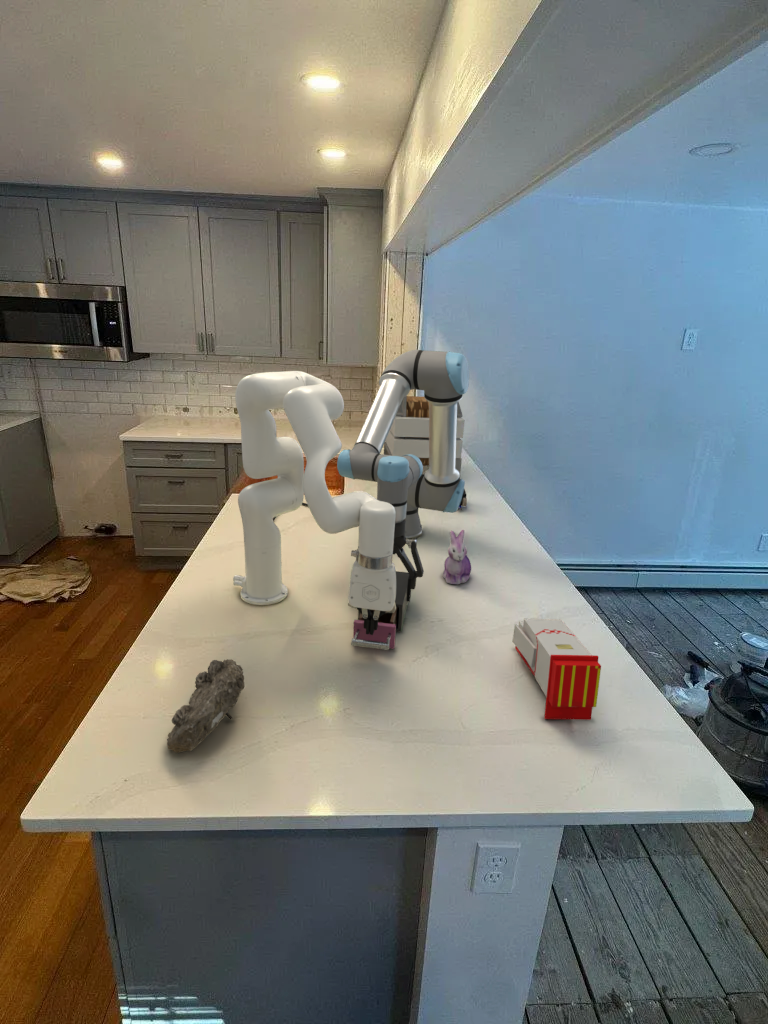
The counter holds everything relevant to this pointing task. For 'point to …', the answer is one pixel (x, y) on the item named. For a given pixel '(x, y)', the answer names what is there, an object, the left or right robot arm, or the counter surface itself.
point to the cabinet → (400, 597)
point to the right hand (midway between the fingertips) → (386, 596)
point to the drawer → (377, 632)
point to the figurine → (457, 560)
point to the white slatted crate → (417, 431)
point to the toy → (559, 667)
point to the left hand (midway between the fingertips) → (370, 631)
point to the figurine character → (463, 500)
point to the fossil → (206, 705)
